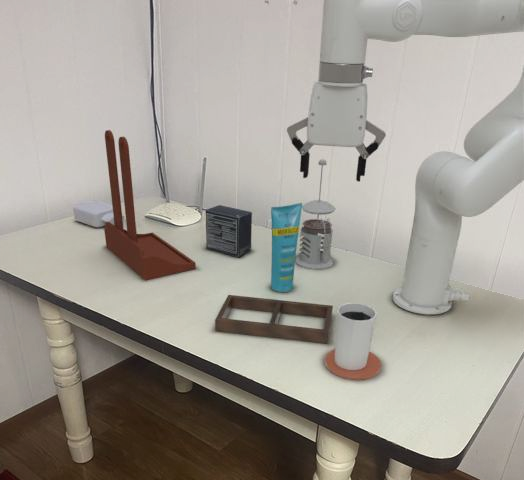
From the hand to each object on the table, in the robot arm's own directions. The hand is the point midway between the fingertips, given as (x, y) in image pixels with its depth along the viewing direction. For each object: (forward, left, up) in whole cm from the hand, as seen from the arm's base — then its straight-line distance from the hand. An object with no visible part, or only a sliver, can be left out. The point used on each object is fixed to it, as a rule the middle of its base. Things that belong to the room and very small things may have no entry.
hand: (331, 177), depth 103 cm
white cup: (-7, +19, -28) cm, 34 cm away
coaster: (-8, +18, -28) cm, 34 cm away
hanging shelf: (+44, -20, -28) cm, 56 cm away
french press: (+3, -28, -28) cm, 40 cm away
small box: (+26, -31, -28) cm, 49 cm away
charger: (+65, -42, -28) cm, 82 cm away
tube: (+9, -11, -28) cm, 32 cm away
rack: (+8, +6, -28) cm, 30 cm away
